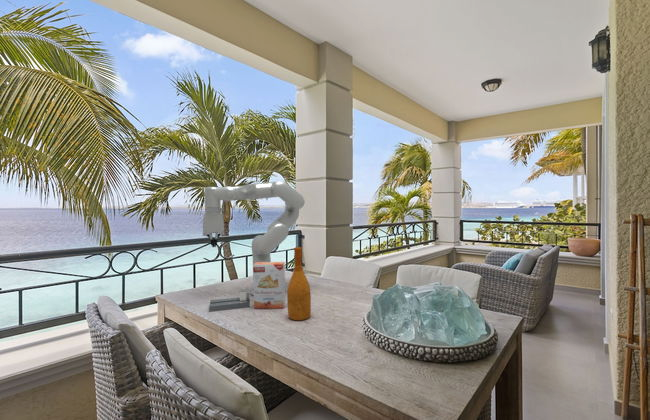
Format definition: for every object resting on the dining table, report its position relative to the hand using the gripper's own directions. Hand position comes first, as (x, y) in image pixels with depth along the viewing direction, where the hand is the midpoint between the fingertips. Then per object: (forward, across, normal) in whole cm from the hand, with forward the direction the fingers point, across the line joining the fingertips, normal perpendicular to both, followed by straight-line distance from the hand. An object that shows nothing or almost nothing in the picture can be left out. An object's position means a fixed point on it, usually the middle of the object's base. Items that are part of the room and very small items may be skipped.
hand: (214, 246), depth 160 cm
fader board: (+27, -7, +14) cm, 31 cm away
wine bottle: (+27, -35, +40) cm, 60 cm away
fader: (+25, -13, +14) cm, 32 cm away
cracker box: (+27, -25, +22) cm, 43 cm away
